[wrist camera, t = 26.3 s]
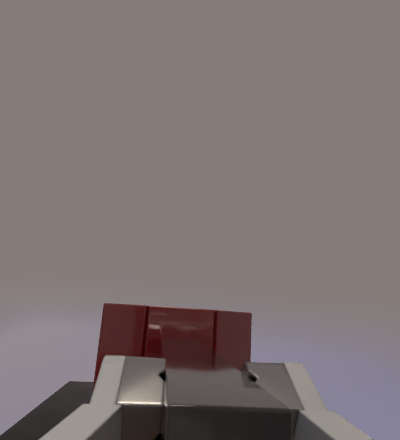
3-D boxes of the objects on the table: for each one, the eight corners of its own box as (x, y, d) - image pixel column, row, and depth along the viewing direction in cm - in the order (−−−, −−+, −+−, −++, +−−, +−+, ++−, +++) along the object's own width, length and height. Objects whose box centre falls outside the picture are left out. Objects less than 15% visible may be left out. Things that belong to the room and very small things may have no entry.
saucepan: (228, 384, 27) (231, 312, 28) (535, 712, 5) (484, 321, 6) (106, 379, 26) (115, 304, 27) (-162, 744, 4) (-52, 284, 5)
